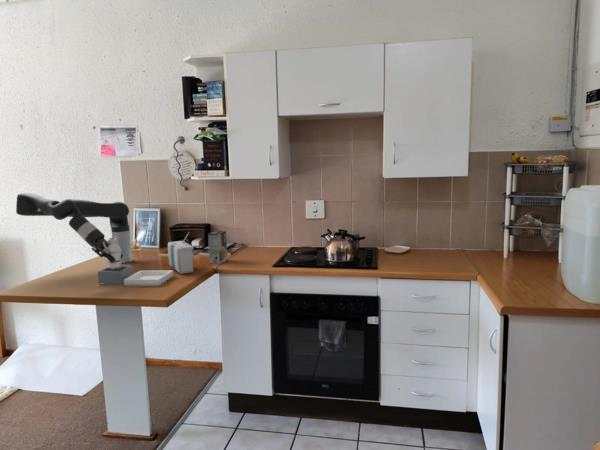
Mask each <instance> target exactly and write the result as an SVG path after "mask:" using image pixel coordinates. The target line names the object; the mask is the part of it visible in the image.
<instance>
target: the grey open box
mask: <svg viewBox="0 0 600 450" xmlns="http://www.w3.org/2000/svg"><path fill="white" fill-rule="evenodd" d="M121 267H122V270H121V271H109V266H107V267H105V268H102V269H100V270H98V271H97V276H98V284H99V283H103V284H102V285H124V284H123V283H124V279H126V278H128V277H130V276H131V275H133V274H134V272H133V266H132V265H121Z"/></svg>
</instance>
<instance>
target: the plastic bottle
mask: <svg viewBox="0 0 600 450" xmlns="http://www.w3.org/2000/svg"><path fill="white" fill-rule="evenodd" d="M107 241H108V243H109V245H108V247H107V251H108V252H109V254H111V255H112V256H113V257H114V258H115V261H114V262H110V261H109V260H108V259H107V262H108V267H109V271H121V270H122V267H121V266H122V263H121V248H120V246H119V245H118V244H117V238H112V237H109V238H108V240H107Z"/></svg>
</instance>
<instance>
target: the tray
mask: <svg viewBox="0 0 600 450" xmlns="http://www.w3.org/2000/svg"><path fill="white" fill-rule="evenodd" d="M173 277H174V270H170V269H169V270H165V269H164V270H163V269H162V270H160V269H158V270H139V271H137V272H135V273H133V275H131V276H130V277H128V278H126V279H124V284H123V287H160V286H162V285H163V284H165V283H166V282H167V280H168V281H169V280H171V279H172V278H173ZM170 278H171V279H170ZM164 282H165V283H164ZM162 283H163V284H162ZM161 284H162V285H161ZM159 285H160V286H159Z"/></svg>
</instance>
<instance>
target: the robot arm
mask: <svg viewBox="0 0 600 450" xmlns="http://www.w3.org/2000/svg"><path fill="white" fill-rule="evenodd" d="M15 205H16V206H15V207H16V209H15V210H16V211H15V212H16V214H17V215H19V216H25V217H36V216H37V217H41V216H42V217H45V216H46V217H47V216H49V217H50V216H51V217H53V218H54V219H55V220H59V221H62V220H65V219H66V218H68V217H69V218H71V219H70V220H69V221H68V225H69V226H70V228H72V229H73V231H75V232H76V233H77V234H78V235H79V237H80V238H81V239H82V240H84V241H85V242H86V243H87V244H88V245H89V246H90V247H92V248H91V250H92V251H93V252H94V253H95V254H96V255H98V256H99V257H100V258H106V260H107V261H108V260H109V261H110V262H114V261H115V258H114V257H113V256H112V255H111V254H109V252H108V251H107V247H108V245H109V243H108V240H107V239H106V238H105V234H104V233H103V232H102V231H101V230H100V229H99V228H97V226H95V225H94V224H93V223H91V222H90V220H88V219H87V218H108V219H109V225H110V230H111V238H117V244H118V245H119V246H120V248H121V264H125V263H130V262H132V261H133V255H132V254H133V253H132V252H133V251H132V240H131V232H130V224H129V220H128V219H129V218H128V216H129V213H130V208H129V207H128V206H127V204H126V203H124V202H122V201H114V202H110V203H109V202H96V201H92V200H87V199H75V198H74V199H72V198H65V199H64V200H61V201H59V200H55V199H50V198H46V197H43V196H41V195H39V194H36V193H30V192H21V193H19V194H17V195H16V204H15Z"/></svg>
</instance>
